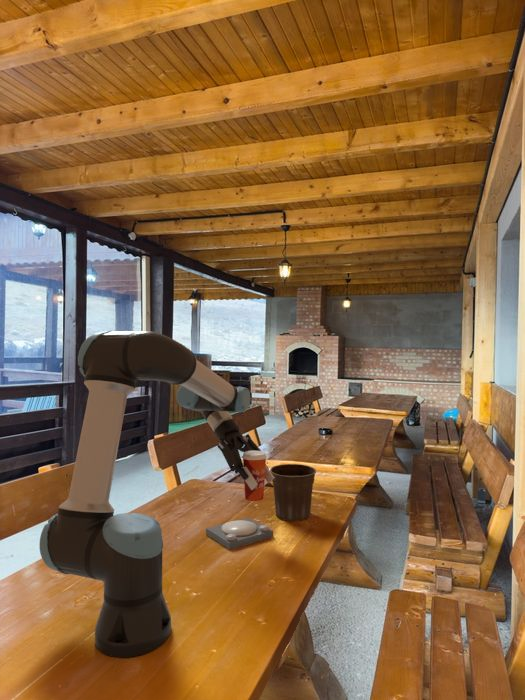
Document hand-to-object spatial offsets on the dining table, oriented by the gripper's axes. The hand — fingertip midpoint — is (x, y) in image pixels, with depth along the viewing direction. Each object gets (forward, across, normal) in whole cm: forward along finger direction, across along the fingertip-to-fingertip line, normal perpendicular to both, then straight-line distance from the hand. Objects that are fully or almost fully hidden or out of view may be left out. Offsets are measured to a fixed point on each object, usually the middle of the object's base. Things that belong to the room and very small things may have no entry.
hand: (263, 483), depth 142 cm
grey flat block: (+6, +1, -19) cm, 20 cm away
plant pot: (+9, -24, -16) cm, 31 cm away
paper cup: (+1, 0, -6) cm, 6 cm away
